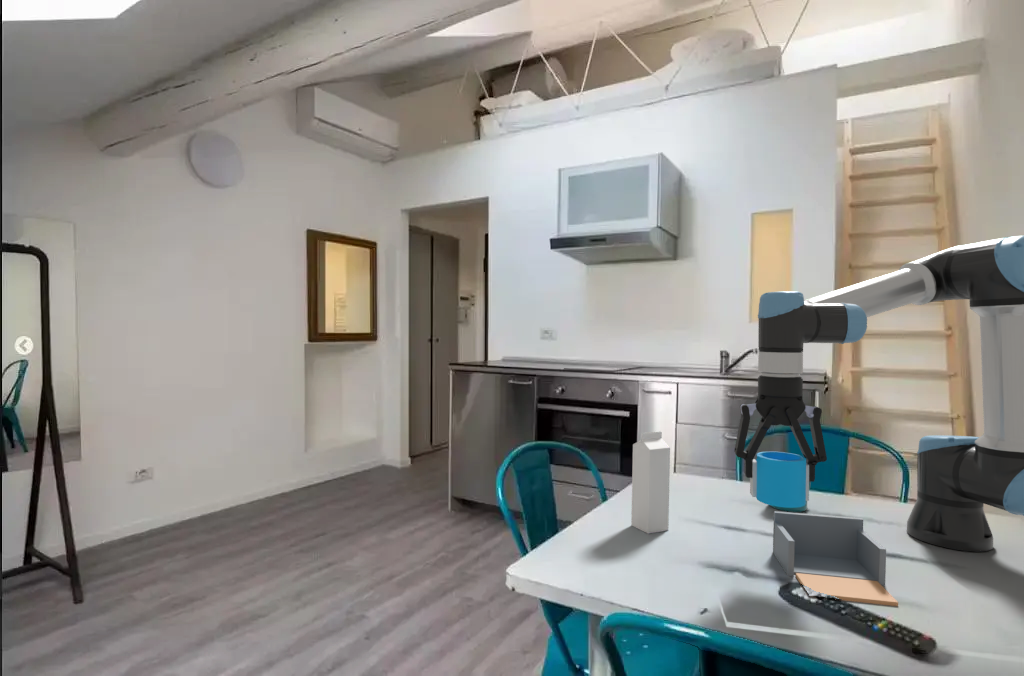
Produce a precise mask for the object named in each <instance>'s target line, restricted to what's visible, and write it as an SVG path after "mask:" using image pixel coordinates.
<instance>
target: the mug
mask: <svg viewBox="0 0 1024 676" xmlns="http://www.w3.org/2000/svg"><path fill="white" fill-rule="evenodd" d="M755 460H756V461H757V497H755V498H756V500H757V501H758V502H760V503H763V504H764V505H768V506H770V505H772V506H777V507H785V508H797V507H803V506H805V504H806V458H805V457H804V456H803V455H800V454H796V453H791V452H784V451H761V452H756V459H755ZM772 506H771V507H772Z"/></svg>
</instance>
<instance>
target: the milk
mask: <svg viewBox="0 0 1024 676" xmlns="http://www.w3.org/2000/svg"><path fill="white" fill-rule="evenodd" d="M640 436H641V437H640V440H639V441H637V442H635V443H633V444H632V472H631V473H632V474H631V475H632V477H631V516H630V517H631V520H630V521H631V523H630V524H631V527H634V528H636V529H637V530H640V531H642V532H644V533H646V534H655V533H659V532H664V531H669V520H670V519H669V518H670V473H671V472H670V471H671V470H670V468H671V467H670V466H671V465H670V463H671V447H670V446H669V445H668V443H667V442H666V441H665V440H664V439H663V434H662V431H650V432H641V434H640Z"/></svg>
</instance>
